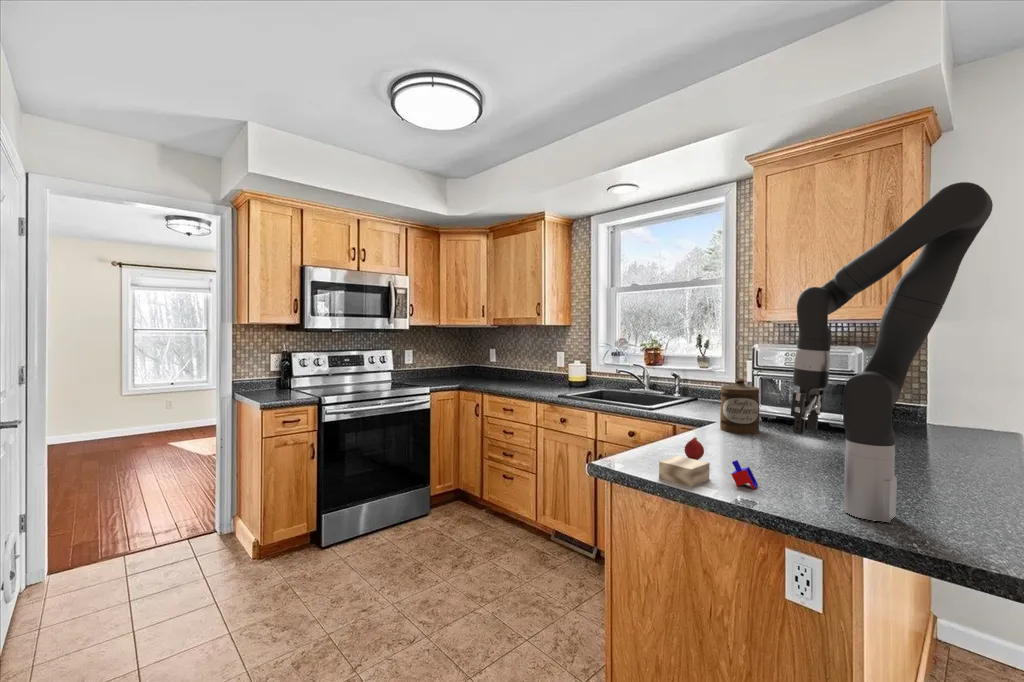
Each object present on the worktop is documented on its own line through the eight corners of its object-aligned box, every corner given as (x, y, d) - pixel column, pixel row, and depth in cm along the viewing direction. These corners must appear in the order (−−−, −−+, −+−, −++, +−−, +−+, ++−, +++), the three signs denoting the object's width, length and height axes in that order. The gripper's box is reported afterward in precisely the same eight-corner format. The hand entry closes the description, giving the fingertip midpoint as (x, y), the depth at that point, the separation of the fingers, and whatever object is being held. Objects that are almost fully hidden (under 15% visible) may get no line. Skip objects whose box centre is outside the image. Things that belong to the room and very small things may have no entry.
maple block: (709, 480, 139) (709, 462, 139) (691, 487, 133) (691, 469, 133) (677, 472, 147) (677, 455, 147) (658, 478, 140) (659, 461, 140)
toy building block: (743, 489, 136) (730, 461, 138) (758, 485, 133) (744, 456, 135) (740, 492, 133) (726, 464, 135) (755, 488, 130) (741, 459, 132)
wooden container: (722, 432, 200) (723, 379, 199) (718, 425, 214) (719, 375, 213) (762, 435, 195) (763, 380, 195) (755, 427, 209) (756, 376, 209)
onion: (691, 464, 153) (692, 439, 153) (680, 460, 159) (681, 435, 159) (707, 463, 155) (707, 438, 155) (696, 458, 160) (696, 434, 160)
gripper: (817, 371, 114) (811, 439, 115) (838, 368, 123) (832, 431, 124) (783, 367, 120) (777, 431, 121) (806, 364, 129) (800, 424, 130)
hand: (805, 431), depth 123 cm, fingers open, 8 cm apart
